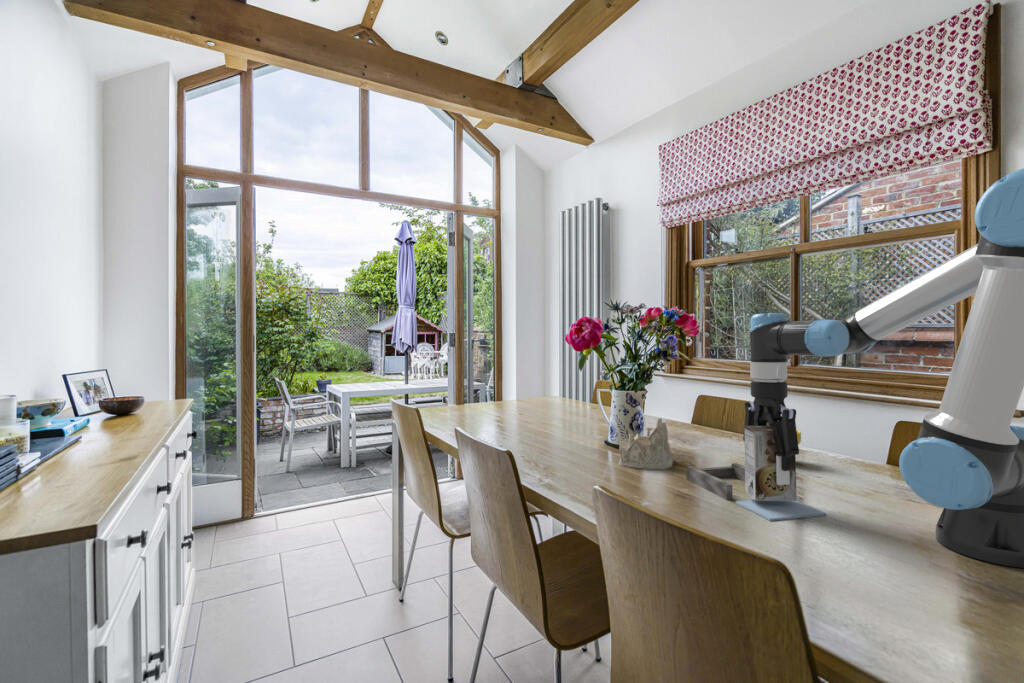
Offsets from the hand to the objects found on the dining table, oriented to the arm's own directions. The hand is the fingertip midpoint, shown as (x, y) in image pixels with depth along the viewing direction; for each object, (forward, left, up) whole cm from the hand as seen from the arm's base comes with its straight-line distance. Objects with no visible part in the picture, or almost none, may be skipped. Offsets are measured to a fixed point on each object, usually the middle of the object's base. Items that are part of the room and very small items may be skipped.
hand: (769, 479), depth 111 cm
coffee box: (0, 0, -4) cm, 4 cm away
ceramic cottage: (+41, +10, -6) cm, 42 cm away
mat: (-3, 0, -6) cm, 7 cm away
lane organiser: (+13, 0, -6) cm, 14 cm away
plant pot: (+31, -30, -6) cm, 43 cm away
